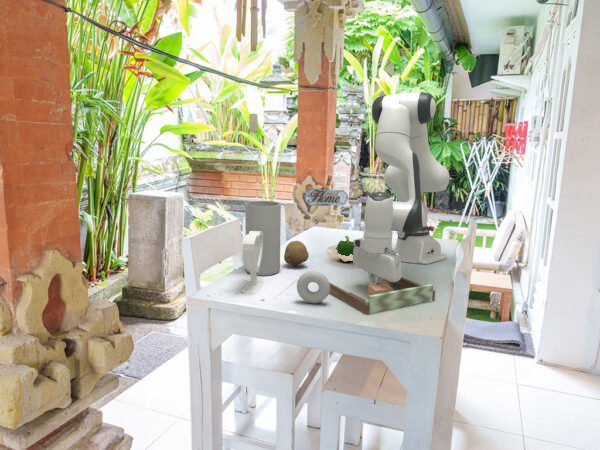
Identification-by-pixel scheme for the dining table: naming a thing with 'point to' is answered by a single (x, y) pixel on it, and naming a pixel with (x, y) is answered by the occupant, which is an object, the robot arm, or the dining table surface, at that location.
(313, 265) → the dining table surface
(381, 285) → the terracotta block
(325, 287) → the donut
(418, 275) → the dining table surface
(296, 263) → the natural sponge
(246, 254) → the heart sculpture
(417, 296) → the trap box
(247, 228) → the cylinder vase
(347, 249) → the bell pepper
